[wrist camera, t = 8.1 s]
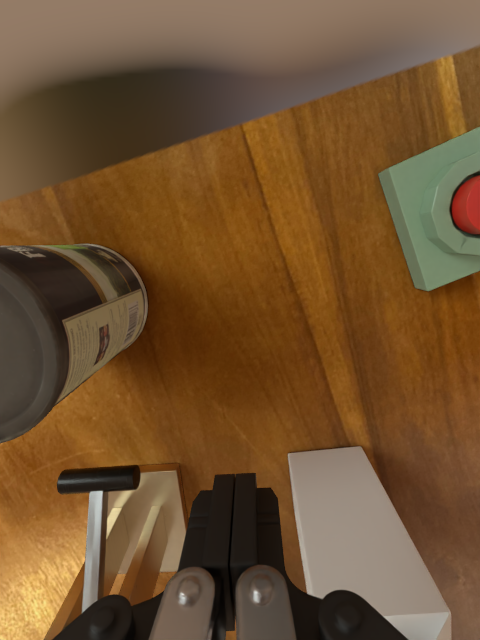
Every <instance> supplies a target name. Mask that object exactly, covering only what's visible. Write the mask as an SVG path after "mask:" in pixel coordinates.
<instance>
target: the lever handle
mask: <svg viewBox="0 0 480 640" xmlns="http://www.w3.org/2000/svg"><path fill="white" fill-rule="evenodd" d="M140 478H141V472H140V468H139V466H138V465H130V466H114V467H98V468H83V469H67V470H64V471H62V472H61V474H60V476H59V478H58V482H57V489H58V492H59V493H60V494H62V495H63V494H80V493H90V495H89V510H88V526H87V541H86V556H85V572H84V587H83V602H82V613H83V612H84V611H85V610H86V609H87V608H88V607H89V606H90V605H92V604H93V603H94V602H96V601H97V600H99V599H101V598H103V594H104V574H105V554H106V534H107V514H108V494H109V492H113V491H130V490H136V489H137V488H138V487H139V484H140Z"/></svg>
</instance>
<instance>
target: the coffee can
mask: <svg viewBox="0 0 480 640" xmlns="http://www.w3.org/2000/svg"><path fill="white" fill-rule="evenodd" d="M147 313H148V300H147V294H146V289H145V286H144V284H143V282H142V280H141V278H140V276H139V274H138V273H137V271H136V270H135V268H134V267H133V266H132V265H131V264H130V263H129V262H128V261H127V260H126V259H125V258H124V257H122V256H121V255H119V254H118V253H117V252H115V251H113V250H111V249H108V248H106V247H103V246H99V245H94V244H75V245H45V246H0V443H3V442H6V441H10V440H12V439H15V438H17V437H19V436H21V435H23V434H25V433H26V432H28V431H29V430H31V429H32V428H33V427H35V426H36V425H37V424H38V423H39V422H40V421H42V420H43V419H44V417H46V416H47V414H48V413H49V412H50V411H51V410H52V408H53V407H54V406H55V405H57V404H58V403H59V402H60V401H62V400H63V399H64V398H65V397H67V396H68V395H69V394H70V393H71V392H73V391H74V390H75V389H76V388H77V387H79V386H80V385H81V384H82V383H83V382H85V381H86V380H87V379H88V378H90V377H91V376H92V375H93V374H94V373H95V372H97V371H98V370H99V369H100V368H102V367H103V366H104V365H105V364H106V363H108V362H109V361H110V360H111V359H112V358H114V357H115V356H116V355H118V354H119V353H120V352H121V351H122V350H124V349H126V348H127V347H129V346H130V345H131V344H132V343H133V342H134V341H135V340H136V339H137V338H138V336H139V335H140V333H141V332H142V330H143V327H144V325H145V322H146V318H147Z"/></svg>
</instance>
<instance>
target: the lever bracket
mask: <svg viewBox="0 0 480 640" xmlns="http://www.w3.org/2000/svg"><path fill="white" fill-rule="evenodd" d="M139 468H140V472H141V478H140V484H139V487H138V488H137V489H136V490H130V491H113V492H109V494H108V514H107V534H106V554H105V574H104V594H103V597H105V596H108V595H109V593H110V591H111V588H112V586H113V583H114V581H115V579H116V576H117V574H126V576H125V579H124V581H123V584H122V587H121V589H120V592H119V595H121V596H124V597H125V598H127V599H128V600H129V602H130V604H131V606H133V605H136V604H138V603H141V602H144V601H146V600H149V599H151V598H152V596H153V593H154V589H155V586H156V582H157V579H158V575H159V572H174V571H177V570H178V566H179V562H180V557H181V553H182V549H183V544H184V540H185V535H186V531H187V528H188V519H187V512H186V506H185V499H184V493H183V487H182V480H181V474H180V468H179V463H171V464H155V465H139ZM84 572H85V562H84V564H83V566H82V568H81V570H80V572H79V574H78V576H77V577H76V579H75V581H74V583H73V585H72V587H71V589H70V591H69V593H68V595H67V596H66V598H65V600H64V602H63V604H62V606H61V608H60V610H59V612H58V614H57V615H56V617H55V619H54V621H53V623H52V625H51V627H50V629H49V631H48V633H47V635H46V636H45V638H44V640H52V639H53V638H54V637H55V636H57V635H58V634H59V633H60V632H61V631H62V630H63V629H64V628H66V627H67V626H68V625H69V624H70V623H71V622H72V621H74V620H75V619H76V618H77V617H78V616H79V615H80V614H81V613H82V602H83V587H84Z"/></svg>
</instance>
